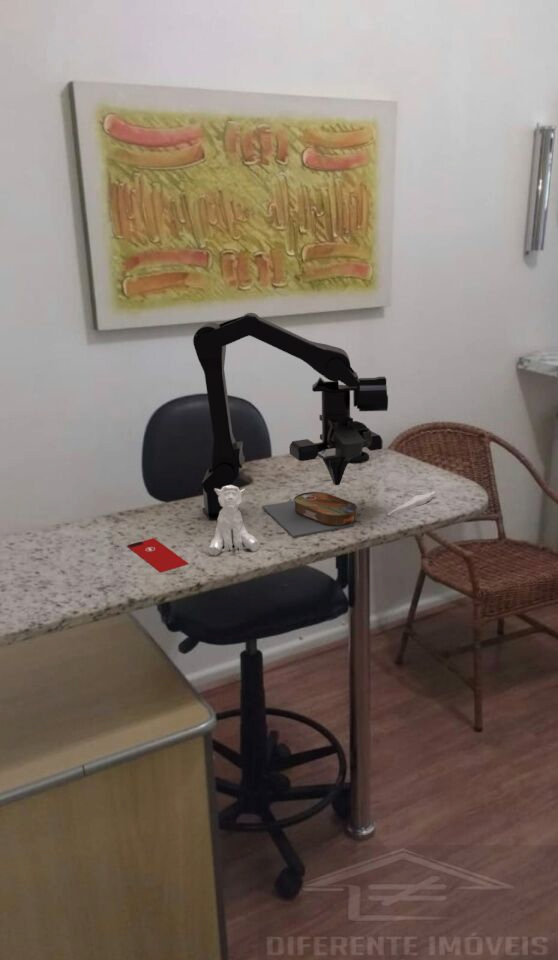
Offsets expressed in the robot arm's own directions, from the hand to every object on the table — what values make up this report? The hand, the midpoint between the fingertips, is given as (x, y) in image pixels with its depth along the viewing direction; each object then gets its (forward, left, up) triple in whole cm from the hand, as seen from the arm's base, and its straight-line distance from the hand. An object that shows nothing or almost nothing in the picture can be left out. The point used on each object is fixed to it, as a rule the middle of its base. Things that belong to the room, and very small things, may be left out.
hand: (336, 484), depth 156 cm
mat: (-7, 0, -6) cm, 9 cm away
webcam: (+19, +31, -6) cm, 37 cm away
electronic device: (-40, -5, -7) cm, 40 cm away
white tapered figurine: (+16, -4, -7) cm, 17 cm away
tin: (+1, 0, -5) cm, 5 cm away
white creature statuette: (-26, -7, -6) cm, 27 cm away
